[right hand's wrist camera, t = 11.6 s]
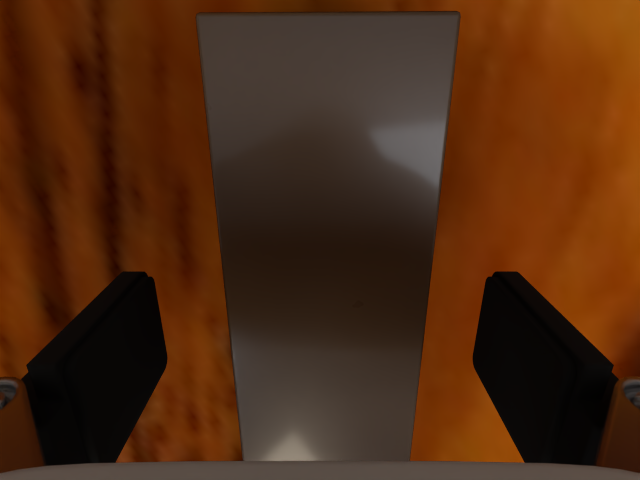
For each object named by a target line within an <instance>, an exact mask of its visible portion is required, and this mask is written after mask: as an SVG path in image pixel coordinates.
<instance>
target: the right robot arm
mask: <svg viewBox="0 0 640 480" xmlns="http://www.w3.org/2000/svg"><path fill="white" fill-rule="evenodd" d="M166 365H167V352H166V346H165V340H164V334H163V329H162V323H161V317H160V311H159V305H158V300H157V294H156V288H155V282H154V279H153V278H152V277H148V275H147V274H146V273H145V272H122V273H120V274H119V275H118V276H117V277H116V278H115V279H114V280H113V281H112V282H111V283H110V284H109V285H108V286H107V287H106V288H105V289H104V290H103V291H102V292H101V293H100V294H99V295H98V296H97V297H96V298H95V299H94V300H93V301H92V302H91V303H90V304H89V305H88V306H87V307H86V308H85V309H83V310H82V311H81V312H80V313H79V314H78V315H77V316H76V317H75V318H74V319H73V320H72V321H71V322H70V323H69V324H68V325H67V326H66V327H65V328H64V329H63V330H62V331H61V332H60V333H59V334H58V335H57V336H56V337H55V338H54V339H53V340H52V341H51V342H50V343H49V344H48V345H47V346H45V347H44V348H43V349H42V350H41V351H40V352H39V353H38V354H37V355H36V356H35V357H34V358H33V359H32V360H31V361H30V362H29V363H28V364H27V365H26V366H27V369H28V373H27V374H26V375H25V376H24V377H23V378H22V379H21V380H20V379H18V378H16V377H0V480H640V377H624V378H622V379H620V380H619V379H618V378H617V377H616V376H615V375H614V374H613V373H612V369H613V366H614V365H613V364H612V363H611V362H610V361H609V360H608V359H607V358H606V357H605V356H604V355H603V354H602V353H601V352H600V351H599V350H598V349H597V348H596V347H595V346H593V345H592V344H591V343H590V342H589V341H588V340H587V339H586V338H585V337H584V336H583V335H582V334H581V333H580V332H579V331H578V330H577V329H576V328H575V327H574V326H573V325H572V324H571V323H570V322H569V321H568V320H567V319H566V318H565V317H564V316H563V315H562V314H561V313H560V312H559V311H558V310H557V309H555V308H554V307H553V306H552V305H551V304H550V303H549V302H548V301H547V300H546V299H545V298H544V297H543V296H542V295H541V294H540V293H539V292H538V291H537V290H536V289H535V288H534V287H533V286H532V285H531V284H530V283H529V282H528V281H527V280H526V279H525V278H524V277H523V276H522V275H521V274H520V273H518V272H495V273H494V274H493V275H492V277H488V278H487V279H486V282H485V288H484V294H483V300H482V305H481V311H480V317H479V323H478V329H477V334H476V340H475V346H474V352H473V365H474V368H475V370H476V372H477V374H478V376H479V378H480V380H481V382H482V383H483V385H484V387H485V389H486V391H487V393H488V395H489V397H490V398H491V400H492V402H493V404H494V406H495V408H496V410H497V412H498V413H499V415H500V417H501V419H502V421H503V423H504V425H505V427H506V428H507V430H508V432H509V434H510V436H511V438H512V440H513V441H514V443H515V445H516V447H517V449H518V451H519V453H520V455H521V456H522V458H523V460H524V462H525V463H507V462H456V461H184V462H133V463H115V462H116V460H117V458H118V456H119V455H120V453H121V451H122V449H123V447H124V445H125V443H126V441H127V440H128V438H129V436H130V434H131V432H132V430H133V428H134V427H135V425H136V423H137V421H138V419H139V417H140V415H141V413H142V412H143V410H144V408H145V406H146V404H147V402H148V400H149V398H150V397H151V395H152V393H153V391H154V389H155V387H156V385H157V383H158V382H159V380H160V378H161V376H162V374H163V372H164V370H165V368H166Z"/></svg>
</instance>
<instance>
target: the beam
mask: <svg viewBox="0 0 640 480" xmlns="http://www.w3.org/2000/svg"><path fill="white" fill-rule="evenodd" d="M460 17H461V16H460V13H459V12H457V11H388V12H200V13H198V14H196V25H197V35H198V44H199V54H200V63H201V72H202V82H203V91H204V101H205V110H206V119H207V129H208V138H209V147H210V157H211V166H212V176H213V185H214V194H215V204H216V213H217V223H218V232H219V241H220V251H221V260H222V270H223V279H224V288H225V298H226V307H227V317H228V326H229V335H230V345H231V354H232V364H233V373H234V382H235V392H236V401H237V411H238V420H239V429H240V439H241V448H242V458H243V461H410V454H411V445H412V437H413V428H414V419H415V410H416V402H417V393H418V384H419V375H420V367H421V358H422V349H423V340H424V332H425V323H426V314H427V306H428V297H429V288H430V279H431V271H432V262H433V253H434V244H435V236H436V227H437V218H438V210H439V201H440V192H441V183H442V175H443V166H444V157H445V148H446V140H447V131H448V122H449V113H450V105H451V96H452V87H453V79H454V70H455V61H456V52H457V44H458V35H459V26H460Z"/></svg>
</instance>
